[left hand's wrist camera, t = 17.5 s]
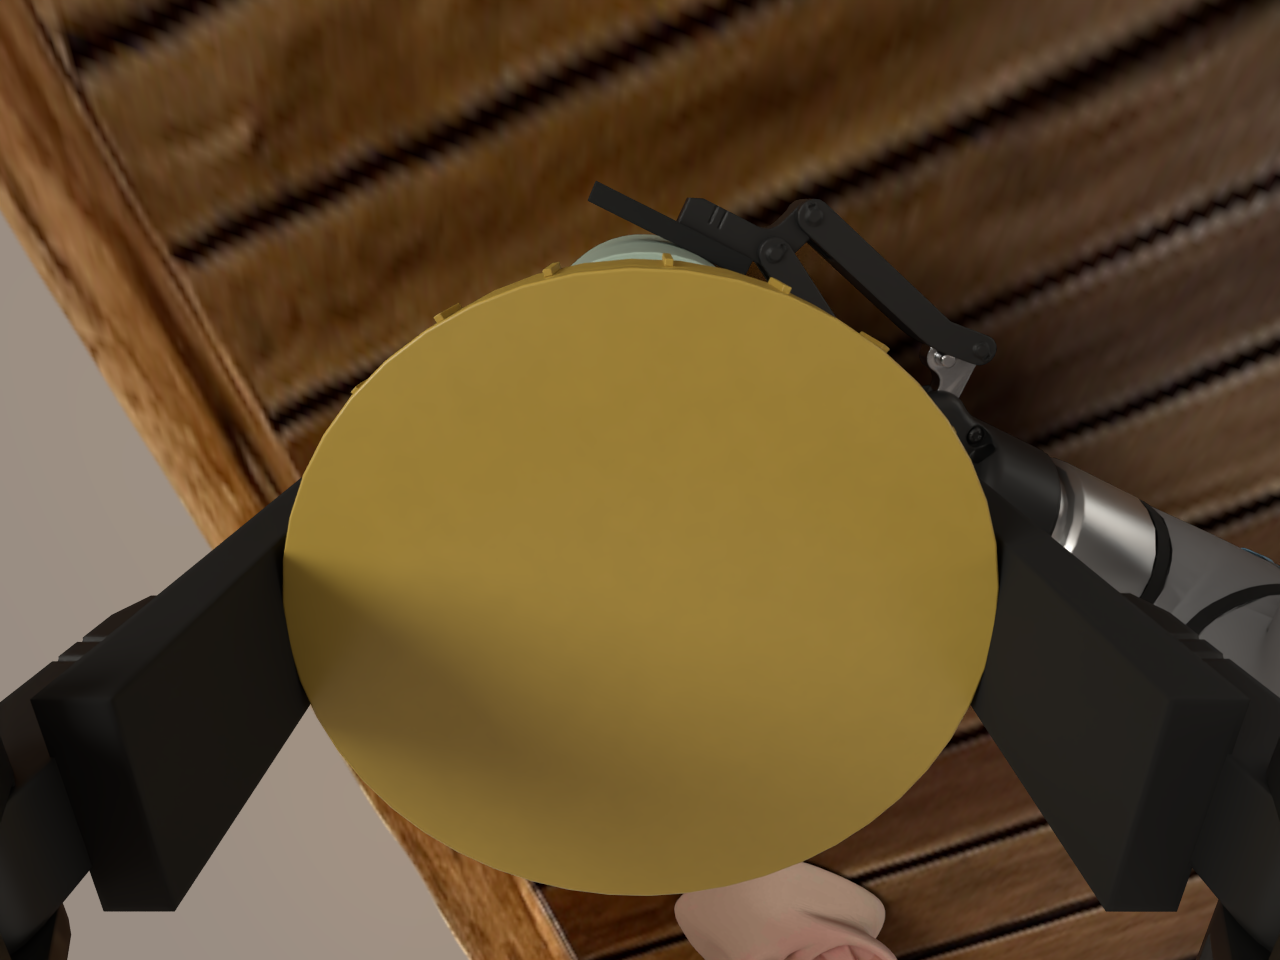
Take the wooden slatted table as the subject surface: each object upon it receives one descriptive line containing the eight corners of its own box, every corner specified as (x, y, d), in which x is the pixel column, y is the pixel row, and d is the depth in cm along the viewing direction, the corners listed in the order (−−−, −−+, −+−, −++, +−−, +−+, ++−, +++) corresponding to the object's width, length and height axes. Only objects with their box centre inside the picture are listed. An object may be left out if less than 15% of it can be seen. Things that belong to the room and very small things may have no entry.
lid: (415, 855, 14) (389, 931, 12) (227, 315, 10) (160, 334, 9) (958, 789, 13) (997, 862, 12) (954, 196, 10) (1009, 195, 8)
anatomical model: (648, 983, 46) (768, 874, 43) (647, 925, 50) (758, 821, 47) (805, 1068, 49) (929, 971, 46) (793, 1007, 53) (907, 914, 50)
